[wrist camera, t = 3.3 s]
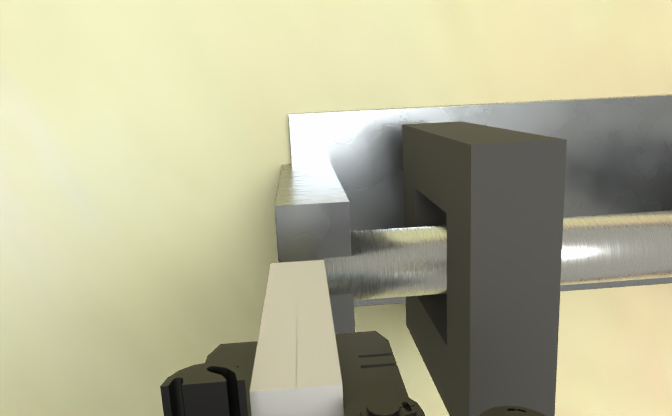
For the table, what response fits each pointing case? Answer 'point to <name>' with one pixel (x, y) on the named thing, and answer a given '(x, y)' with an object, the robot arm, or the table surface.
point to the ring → (488, 262)
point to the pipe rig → (431, 241)
